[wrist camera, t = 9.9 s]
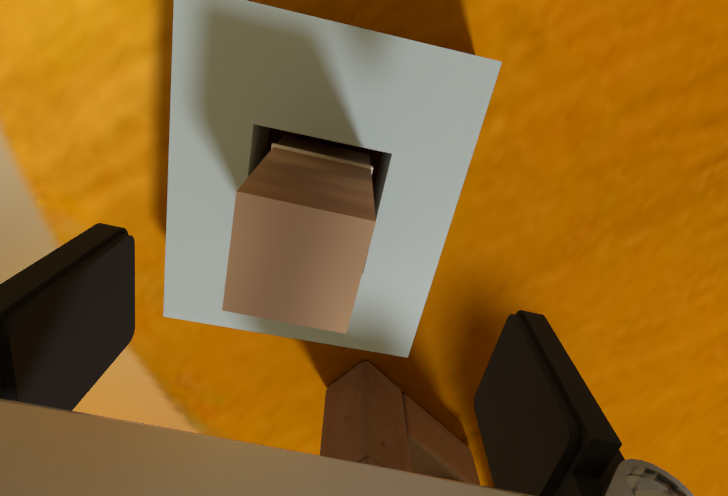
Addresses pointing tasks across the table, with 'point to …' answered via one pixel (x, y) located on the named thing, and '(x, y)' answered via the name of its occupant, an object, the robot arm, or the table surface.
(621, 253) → the table surface
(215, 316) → the grey square-hole block
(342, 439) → the wooden block structure
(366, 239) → the peg
